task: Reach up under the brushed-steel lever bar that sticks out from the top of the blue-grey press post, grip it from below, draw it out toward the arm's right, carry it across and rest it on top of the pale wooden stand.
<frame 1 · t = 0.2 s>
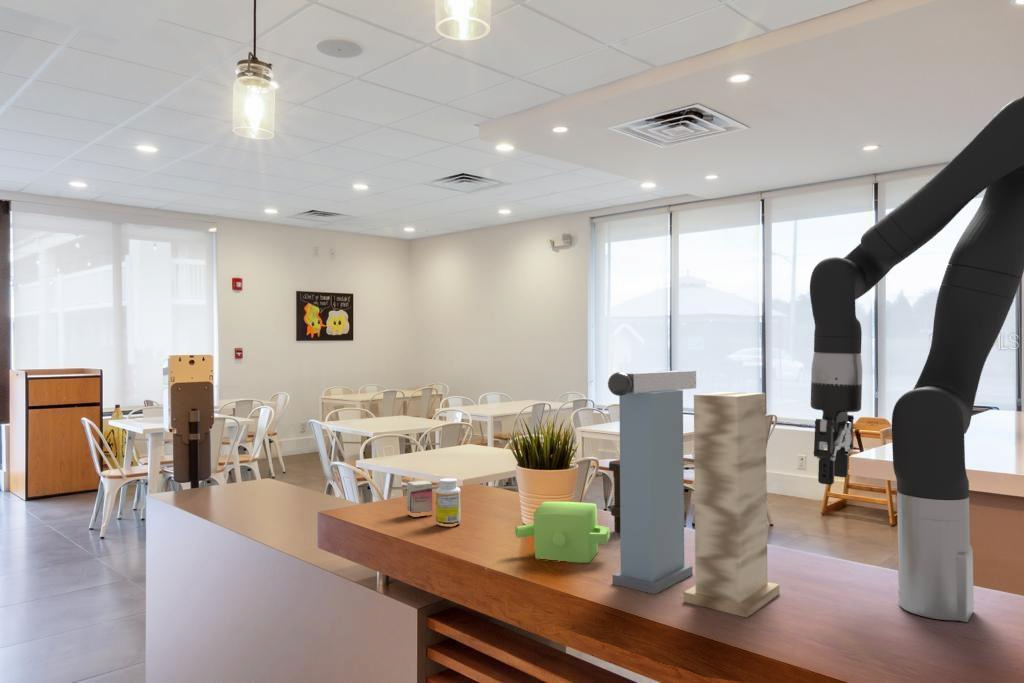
hand: (833, 480, 113), 18 cm above the counter, tool pointing down, fingers open, 8 cm apart
supplement bottle: (448, 525, 156), on the counter
bolt: (621, 532, 149), on the counter
lever bar: (658, 390, 120), point 32 cm above the counter, touching press post
press post: (653, 579, 118), on the counter
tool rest: (732, 597, 109), on the counter
small box: (419, 516, 165), on the counter
gearbox: (561, 557, 131), on the counter
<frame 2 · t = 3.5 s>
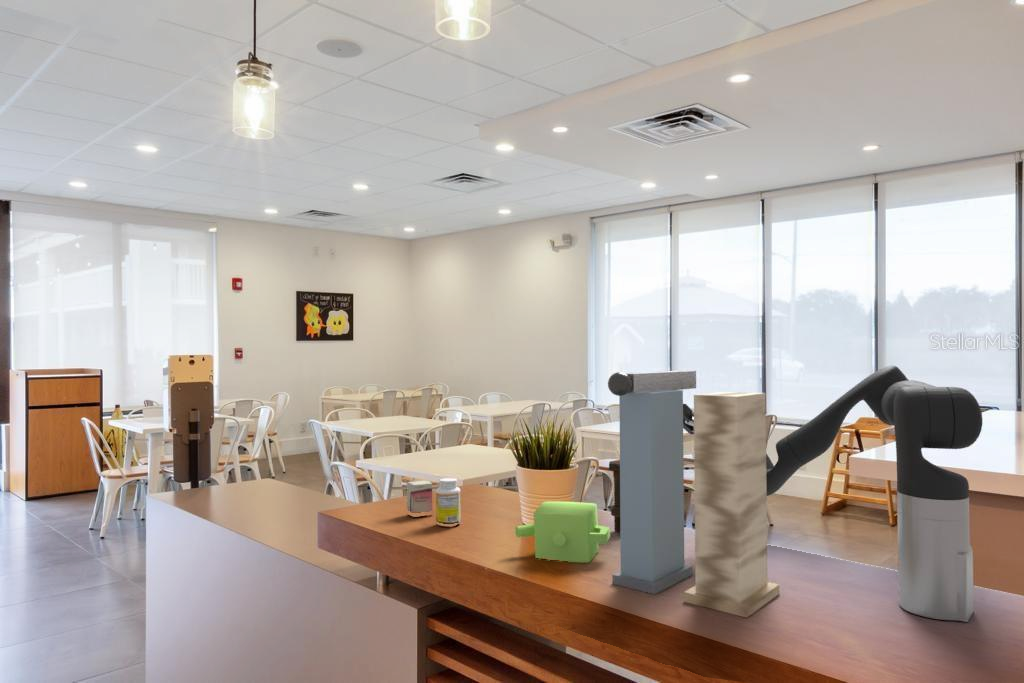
hand: (702, 409, 133), 28 cm above the counter, tool pointing upward, fingers open, 8 cm apart
nothing on the counter moved.
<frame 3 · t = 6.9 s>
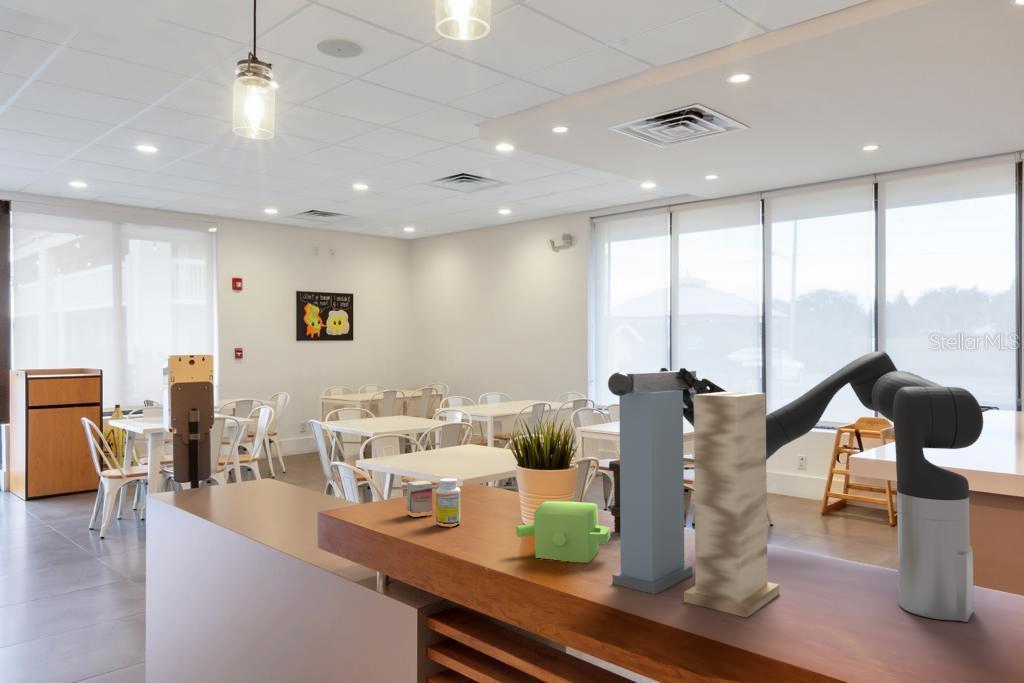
hand: (671, 372, 124), 35 cm above the counter, tool pointing upward, fingers closed on lever bar, 3 cm apart
lever bar: (658, 390, 120), point 32 cm above the counter, touching gripper, press post
everything else where it was.
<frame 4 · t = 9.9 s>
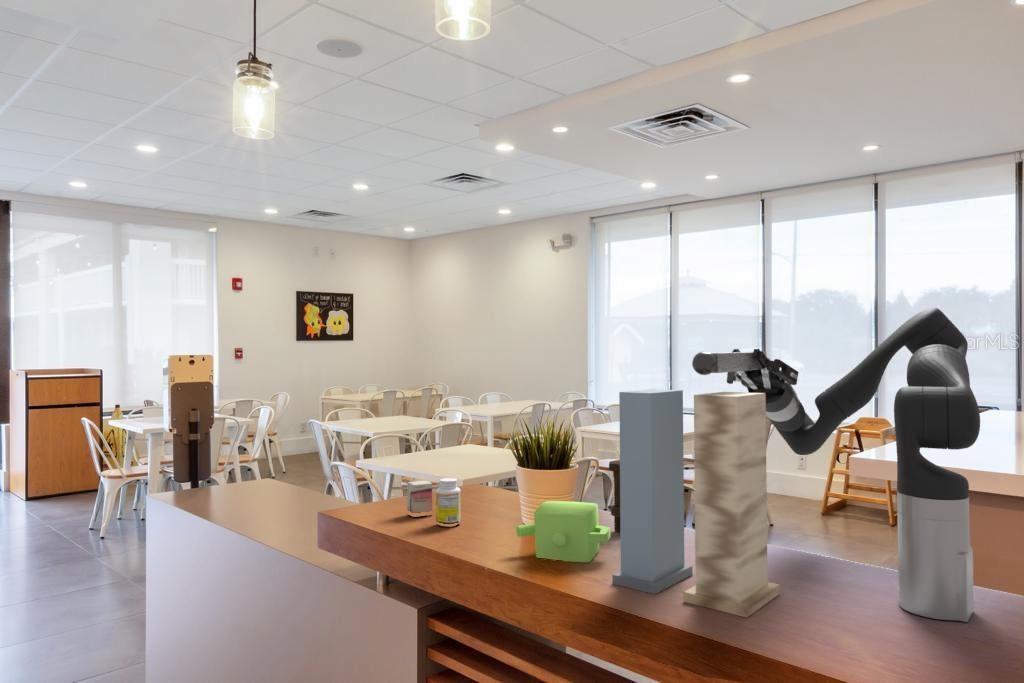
hand: (744, 353, 125), 38 cm above the counter, tool pointing upward, fingers closed on lever bar, 3 cm apart
lever bar: (735, 370, 121), point 35 cm above the counter, touching gripper
everything else where it was.
when the fingers open (36 cm above the counter, at t = 12.9 s): lever bar stays where it is, resting on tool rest.
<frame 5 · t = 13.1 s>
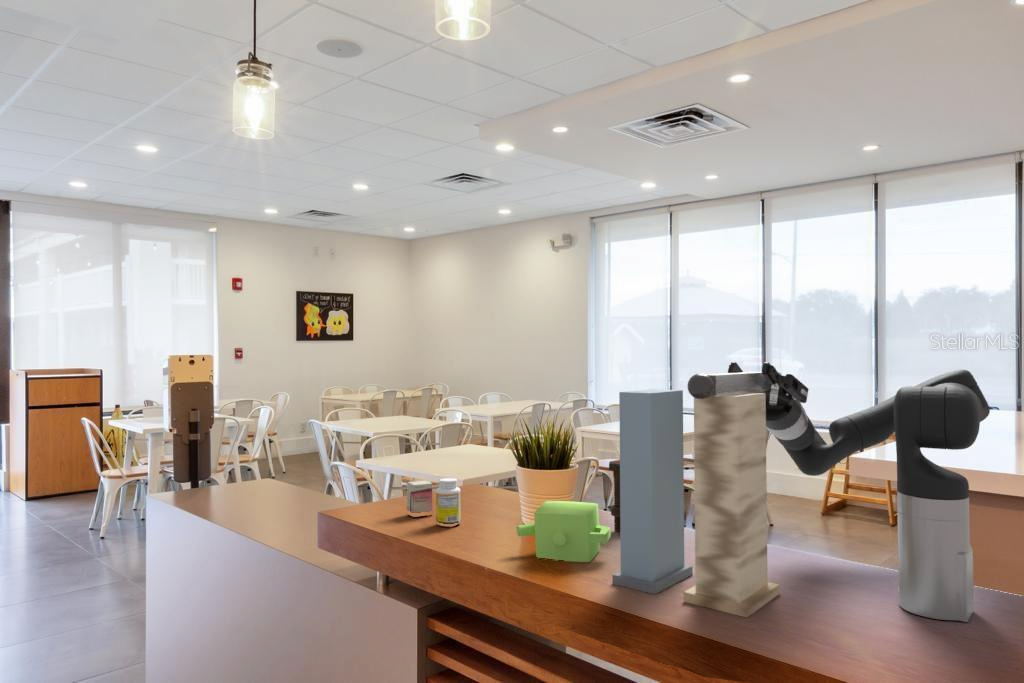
hand: (748, 367, 115), 36 cm above the counter, tool pointing upward, fingers open, 5 cm apart
lever bar: (736, 393, 111), point 32 cm above the counter, touching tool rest
everything else where it was.
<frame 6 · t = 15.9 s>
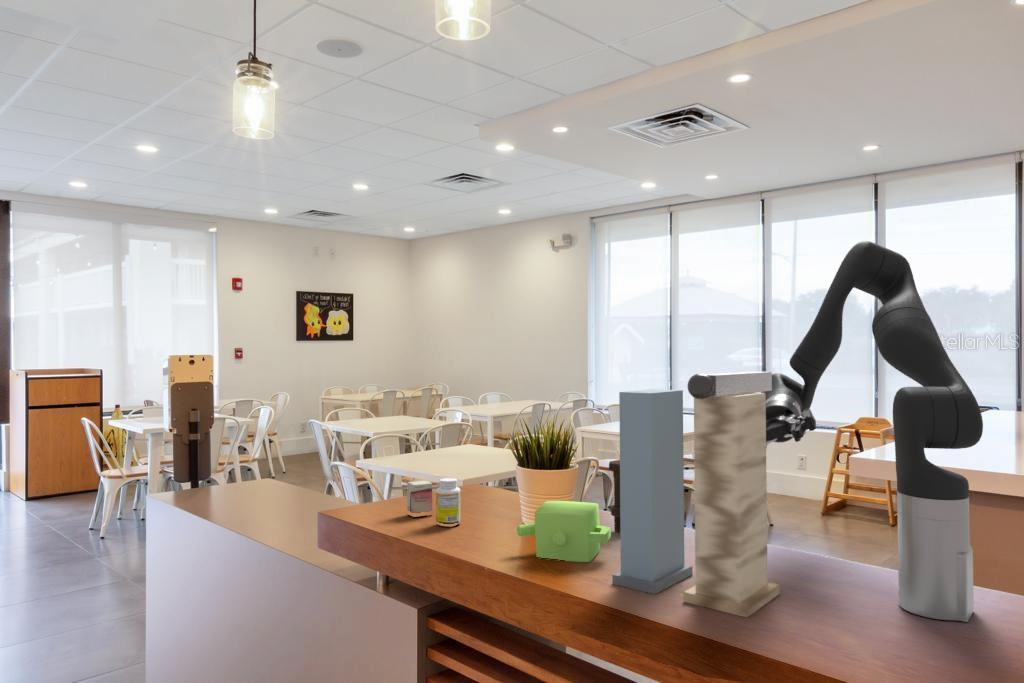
hand: (771, 444, 121), 22 cm above the counter, tool horizontal, fingers open, 8 cm apart
nothing on the counter moved.
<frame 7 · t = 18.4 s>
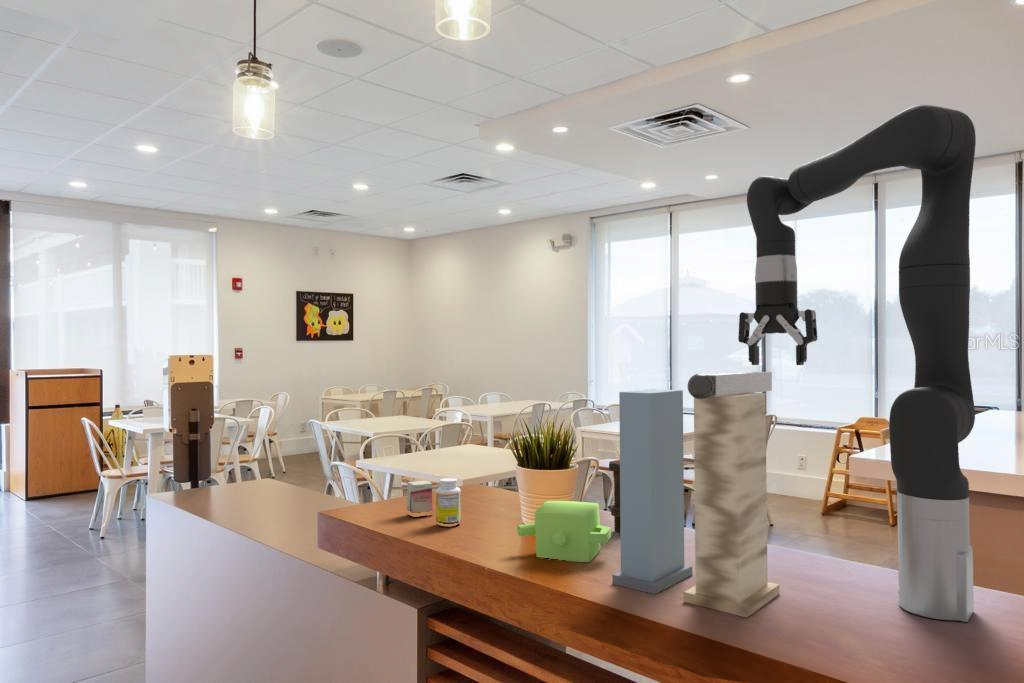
hand: (777, 365, 133), 36 cm above the counter, tool pointing down, fingers open, 8 cm apart
at the end: lever bar inside the target area on the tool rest (0.1 cm from its centre), point 32.0 cm above the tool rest's base; lever bar touching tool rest; the gripper is holding nothing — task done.
